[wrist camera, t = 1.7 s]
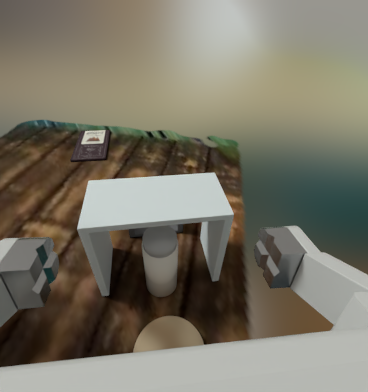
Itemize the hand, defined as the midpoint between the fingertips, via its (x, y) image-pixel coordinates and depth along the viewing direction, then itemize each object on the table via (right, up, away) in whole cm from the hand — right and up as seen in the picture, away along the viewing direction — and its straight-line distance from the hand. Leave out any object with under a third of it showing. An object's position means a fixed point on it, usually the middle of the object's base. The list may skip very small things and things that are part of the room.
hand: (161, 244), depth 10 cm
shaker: (-3, -12, +28) cm, 31 cm away
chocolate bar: (-26, +17, +62) cm, 69 cm away
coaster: (-1, -18, +20) cm, 27 cm away
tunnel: (-3, -9, +31) cm, 32 cm away
